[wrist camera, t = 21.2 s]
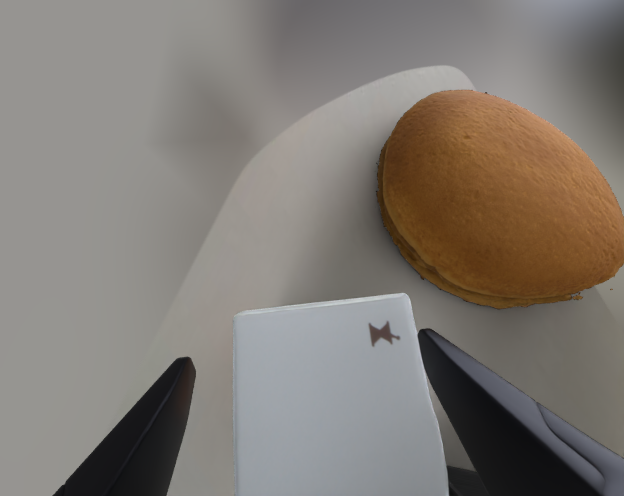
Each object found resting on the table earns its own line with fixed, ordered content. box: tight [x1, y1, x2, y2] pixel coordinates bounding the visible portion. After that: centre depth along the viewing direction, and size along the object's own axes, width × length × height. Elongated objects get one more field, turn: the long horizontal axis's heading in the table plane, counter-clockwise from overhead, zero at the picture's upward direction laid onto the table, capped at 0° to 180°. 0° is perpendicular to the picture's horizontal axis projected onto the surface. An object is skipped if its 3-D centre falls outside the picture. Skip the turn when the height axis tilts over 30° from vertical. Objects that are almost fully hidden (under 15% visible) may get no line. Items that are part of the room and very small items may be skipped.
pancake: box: [376, 90, 624, 309], centre depth 18 cm, size 20×20×5 cm
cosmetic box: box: [233, 293, 449, 496], centre depth 10 cm, size 6×4×12 cm
